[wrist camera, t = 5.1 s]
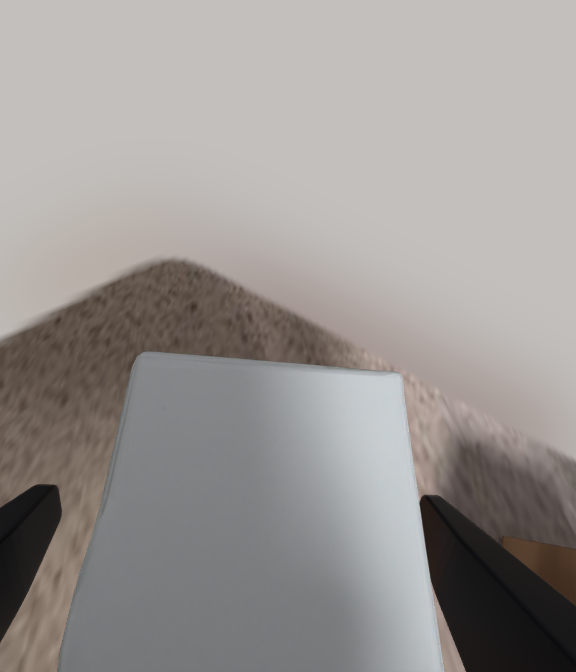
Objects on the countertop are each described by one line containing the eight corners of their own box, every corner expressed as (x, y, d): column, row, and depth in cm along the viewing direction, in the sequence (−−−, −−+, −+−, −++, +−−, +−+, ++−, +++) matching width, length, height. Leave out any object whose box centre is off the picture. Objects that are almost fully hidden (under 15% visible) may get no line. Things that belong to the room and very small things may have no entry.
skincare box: (288, 603, 13) (519, 1097, 3) (180, 606, 13) (-105, 1249, 2) (290, 446, 16) (412, 363, 5) (200, 443, 15) (121, 343, 5)
